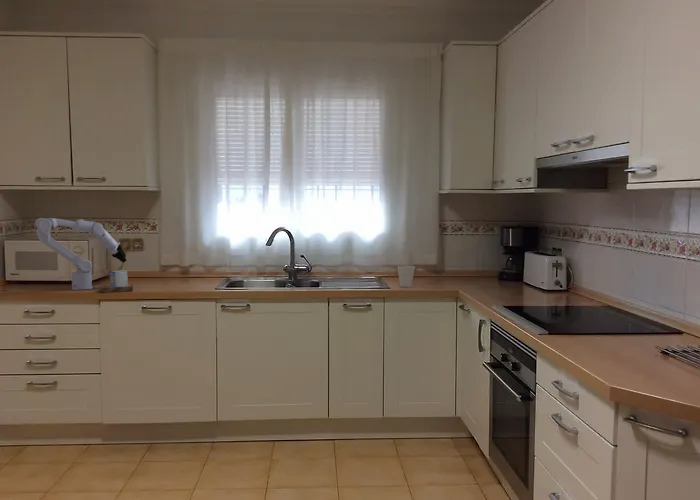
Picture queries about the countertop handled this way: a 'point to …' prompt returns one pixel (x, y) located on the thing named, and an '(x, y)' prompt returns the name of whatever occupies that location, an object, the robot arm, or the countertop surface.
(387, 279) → the countertop surface
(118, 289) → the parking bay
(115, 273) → the medicine box
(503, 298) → the countertop surface
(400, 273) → the cup
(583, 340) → the countertop surface
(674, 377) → the countertop surface
